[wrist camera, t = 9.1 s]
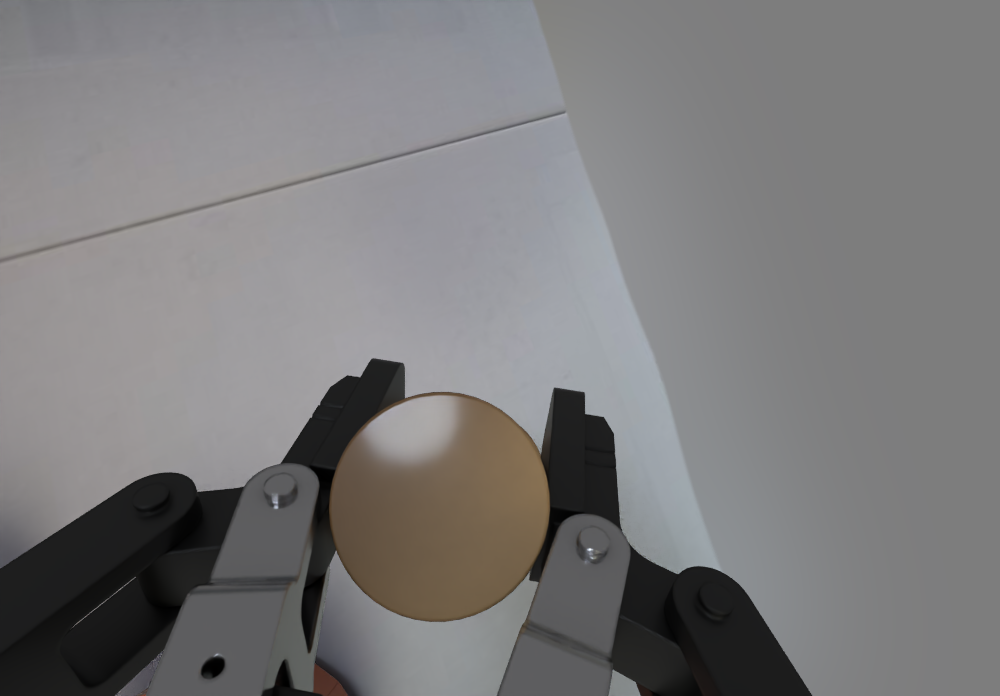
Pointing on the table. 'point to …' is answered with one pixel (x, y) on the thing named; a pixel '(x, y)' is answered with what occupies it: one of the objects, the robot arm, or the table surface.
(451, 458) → the wooden flanged peg
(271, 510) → the robot arm
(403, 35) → the table surface
